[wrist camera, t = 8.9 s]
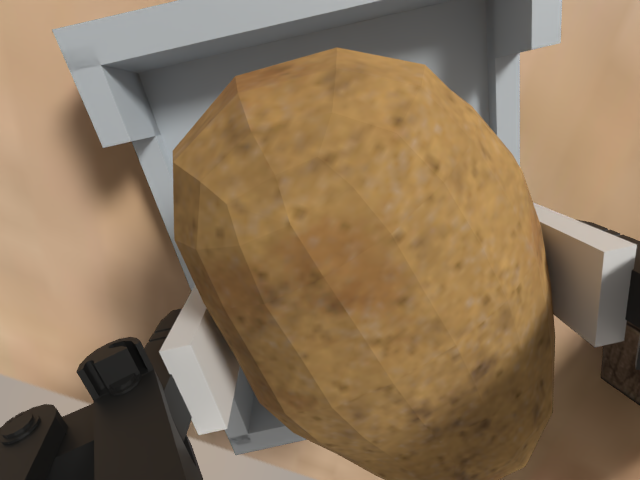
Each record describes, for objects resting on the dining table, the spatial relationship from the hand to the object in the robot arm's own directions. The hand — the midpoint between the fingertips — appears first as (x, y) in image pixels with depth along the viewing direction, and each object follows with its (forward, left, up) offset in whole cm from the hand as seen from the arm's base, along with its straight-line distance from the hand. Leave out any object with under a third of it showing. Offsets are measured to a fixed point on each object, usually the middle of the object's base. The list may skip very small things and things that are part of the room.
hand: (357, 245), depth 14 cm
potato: (0, 0, 0) cm, 0 cm away
